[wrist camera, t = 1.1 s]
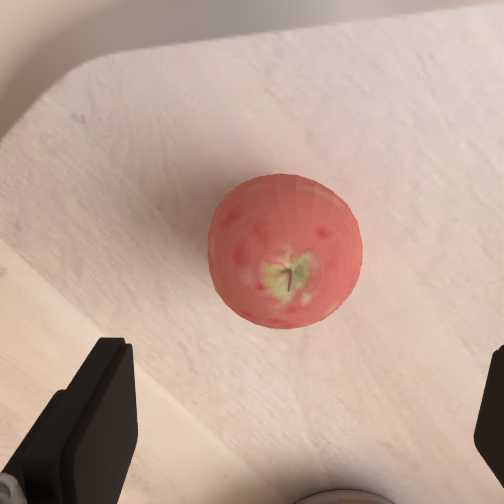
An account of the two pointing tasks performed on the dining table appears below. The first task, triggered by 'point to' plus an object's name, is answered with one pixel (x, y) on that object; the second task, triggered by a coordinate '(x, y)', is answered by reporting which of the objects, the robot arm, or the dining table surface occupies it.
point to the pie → (345, 498)
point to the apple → (284, 251)
